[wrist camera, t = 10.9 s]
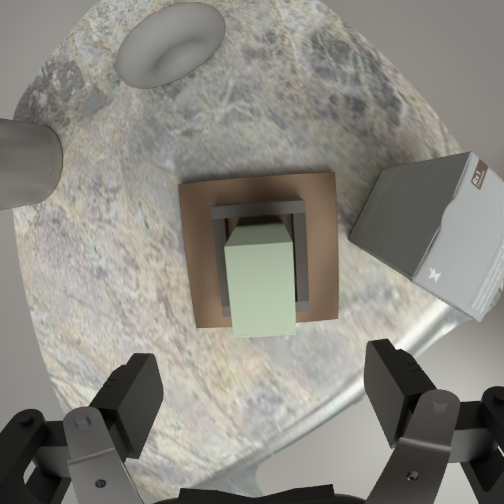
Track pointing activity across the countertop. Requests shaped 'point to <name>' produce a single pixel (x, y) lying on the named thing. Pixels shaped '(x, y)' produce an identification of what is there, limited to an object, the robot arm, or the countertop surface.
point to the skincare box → (439, 228)
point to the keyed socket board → (262, 210)
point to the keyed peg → (261, 280)
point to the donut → (170, 44)
